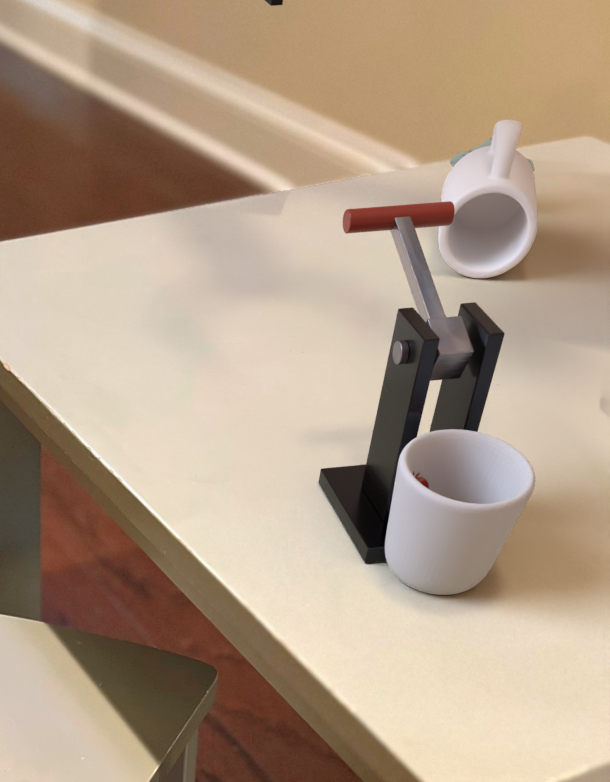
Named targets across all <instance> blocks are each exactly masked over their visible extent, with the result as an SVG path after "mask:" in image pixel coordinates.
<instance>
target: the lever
mask: <svg viewBox="0 0 610 782" xmlns="http://www.w3.org/2000/svg"><path fill="white" fill-rule="evenodd" d="M454 213H455V209H454V204H453V203H452V202H451V201H448V202H441V201H437V202H436V201H435V202H422V203H421V202H420V203H409V204H397V205H385V206H371V207H359V208H347V209H345V210H344V212H343V216H342V229H343V232H344V233H345V234H357V233H358V234H359V233H371V232H372V233H373V232H385V231H390V233H391V237H392V239H393V242H394V245H395V248H396V252H397V254H398V257H399V260H400V263H401V266H402V269H403V271H404V272H403V273H404V274H405V277H406V281H407V283H408V286H409V289H410V293H411V296H412V299H413V301H414V305H415V308H416V311H417V313H418V314H419V315H420V316H421V317H422V318H423V320H424V321H425V322H426V323H427V324H428V325H429V327H430V328H431V329H432V330H433V331H434V332H435V334H436V335H437V336H438V337H439V338H440V341H439V345H438V349H437V354H436V358H435V362H434V366H433V370H432V375H431V379H430V382H431V381H432V382H434V381H442V380H445V379H456V378H460V377H461V375H462V373H463V371H464V369H465V367H466V365H467V364H468V362H469V360H470V358H471V356H472V354H473V352H474V349H473V346H472V343H471V341H470V338H469V335H468V332H467V330H466V327H465V324H464V321H463V318H462V316H458V315H457V316H446V312H445V310H444V307H443V304H442V301H441V299H440V296H439V293H438V290H437V287H436V285H435V282H434V281H435V280H434V279H433V275H432V273H431V271H430V267H429V264H428V262H427V258H426V256H425V253H424V251H423V247H422V245H421V242H420V239H419V236H418V233H417V231H416V229H420V228H422V229H423V228H435V227H439V226H449V225H450V224H451V223H452V222H453V219H454Z"/></svg>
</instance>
